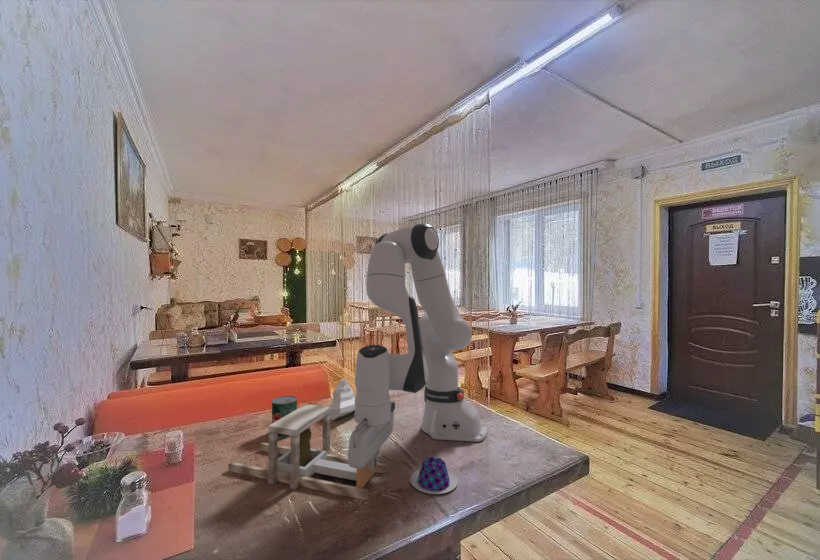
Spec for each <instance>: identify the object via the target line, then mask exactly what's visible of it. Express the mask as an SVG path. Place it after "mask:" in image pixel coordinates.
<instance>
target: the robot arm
mask: <svg viewBox="0 0 820 560" xmlns="http://www.w3.org/2000/svg"><path fill="white" fill-rule="evenodd" d="M439 240H440V239H439V234H438V233H437V230H436V229H435V228H434V227H433V226H432V225H431V224H428V223H417V224H415V225H410V226H409V225H408V226H403V227H400V228H398V229H396V230H392V231H391V232H386V233H385V234H382V235H380V236H379V237H378V239H377V240H376V241H375V245H374V246H373V247H372V248H371V252H370V255H369V260H368V265H367V272H366V295H367V297H368V299H369V300H370V302H371V303H372V304H373V305H374V306H376V307H378V308H380V309H381V310H384V311H385V312H388V313H391V314H393V315H395V316H397V317H399V318H400V319H401V320H402V322H403V323H404V328H405V334H406V342H407V343H406V344H407V353H389V351H388V348H387V347H385V346H383V345H380V344H370V345H366V346H363V347H361V348H360V349H359V350H358V352H357V355H356V362H355V373H354V386H355V389H356V391H355V392H356V395H355V396H354V397H355V411H354V421H355V423H357V424H356V426H355V428H354V430H352V432H351V433H350V437H349V440H348V451H347V457H348V464H349V466H350V467H353V468H359V469H362V468H364V466H365V465H366V464H367V470H369V471H373V469H374V468H375V467H376V466H377V464H378V463H379V455H380V450H381V447H382V446H383V445H384V443H385V442H386V441H387V440H388V438H389V437H390V436H391V435H392V433H393V428H394V417H395V416H394V415H395V413H394V412H395V410H396V402H395V400H394V401H393V400H391V395H390V390H391V391H403V392H406V393H407V392H408V393H413V394H417V393H418V392H419V391H420V390H421V391H422V389H424V392H423V396H424V398H423V399H424V403H425V404H424V412H423V417H422V421H421V425H420V429H421V430H422V431H423V433H426V434H427V435H429V436H430V437H431V438H432V439H434V440H438V441H439V440H441V441H458V442H459V441H461V442H477V443H478V442H481V441H483V440H485V439H486V438H487V435H488V426H487V425H486V423H484V422H482V421H481V417H480V416H481V415H480V412H479V411H478V409H477V408H476V407H475V406H473V405H472V404H471V403H470V402H468V401H467V400H466V399H465V389H464V388H461V387H459V365H458V362H457V359H456V358H455V356H454V354H453V351H460V350H464V349H465V348H467V346H468V345H469V344H470V343H471V341H472V336H473V333H472V328H471V326H470V324H469V323H468V322H467V321H466V320H465V319H464V318H463V317H462V315H461V313H460V311H459V310H458V307H457V306H456V303H455V302H454V300H453V297H452V295H451V291H450V286H449V284H448V283H449V282H448V279H447V274H446V271H445V267H444V264H443V261H442V258H441V256H440V254H439V251H438V250H439V245H440V241H439ZM405 264H410V269H411V274H412V275H411V276H412V281H413V284H414V288H415V291H416V295H417V296H416V297H417V300H418V303H419V305H420V307H421V308H423V311H425V312H424V313H426V314H424V315H422V316H421V317H419V312H418V305H417V304H416V301H415V298H414V296H412V295H410V294H409V293H408V290H407V287H406V280H405V279H406V269H405V267H406V266H405Z"/></svg>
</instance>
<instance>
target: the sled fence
mask: <svg viewBox="0 0 820 560" xmlns="http://www.w3.org/2000/svg"><path fill="white" fill-rule="evenodd" d="M310 450H311V458H312V461H311V462H310V463H308V464H307V465H306V466H305V467H302V466H299V475H300V476H305V477H309V478H312V477H313V475H314V474H315V473H316V474H318V475H319V474H321V475H330V476H335V477H338V478H341V479H344V478H345V479H350V480H355V481H356V486H355V487H359V488H364V487H365V486H366V484H367V483H368V482H369V480H370V479H371V478H372V476H373V475H374V474H375V473H376V472H375V471H376V470H377V466H376V467H375V468H374V469H373V471H369V470H367V464H366V465H365V466H364V468H362V469H359V468H353V467H350V466H349V464H345V463H339V462H334V461H328V460H327V451H324V450H323V449H316V448H311V447H310ZM290 463H291V450H289V451H288V452H287V453H285V454H284V455H282V454H281V456H280V457H279V458H278V457H277V471H280V472H285V473H290Z"/></svg>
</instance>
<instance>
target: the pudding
mask: <svg viewBox="0 0 820 560" xmlns="http://www.w3.org/2000/svg"><path fill="white" fill-rule="evenodd" d="M409 481H410V484H411V485H412V487H414V489H416V490H418V491H419V492H422V493H425V494H428V495H429V494H430V495H441V494H446V493H449V492H451V491H453V490H455V488H456V487H457V485H458V482H459V481H458V478H457V476H456V475H455V473H454V472H452V471H450V470H449V469H448V467H447V464H446V462H445V460H443V459H442V458H440V457H436V456H431V457H426V458H424V460H423V461H422V462H421V465H420V468H419V469H417V470H415V471H414V472H413V473H412V474H411V475H410V478H409Z"/></svg>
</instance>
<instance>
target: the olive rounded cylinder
mask: <svg viewBox="0 0 820 560" xmlns="http://www.w3.org/2000/svg"><path fill="white" fill-rule="evenodd" d="M311 439H312V430H311V428H310V429H309V428H307V429H306V430H304V431H303V432H301V433H300V463H299V466H302V467H305V466H306V465H307V464H308V463H310V462H311V461H312V458H311V450H310V448H311V442H310V443H309V440H310V441H311ZM290 464H291V463H290Z"/></svg>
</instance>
